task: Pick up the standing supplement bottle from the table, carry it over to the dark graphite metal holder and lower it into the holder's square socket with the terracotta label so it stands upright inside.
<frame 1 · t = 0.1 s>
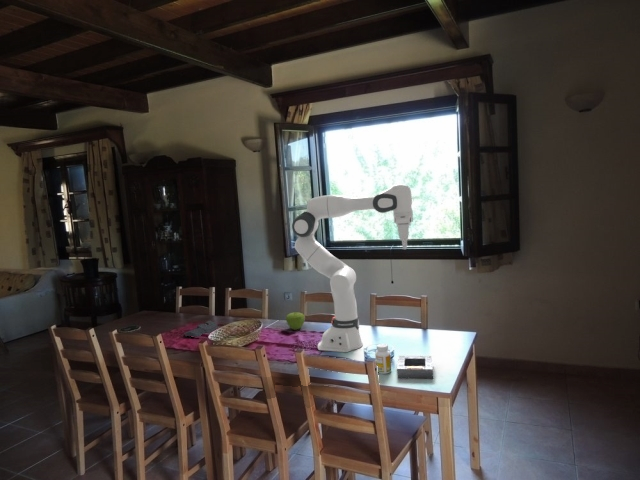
hand: (405, 247, 210), 48 cm above the table, tool pointing down, fingers open, 8 cm apart
supplement bottle: (383, 371, 187), on the table
dark slate chunk: (202, 333, 264), on the table
apple: (296, 329, 256), on the table
socket holder: (415, 371, 184), on the table
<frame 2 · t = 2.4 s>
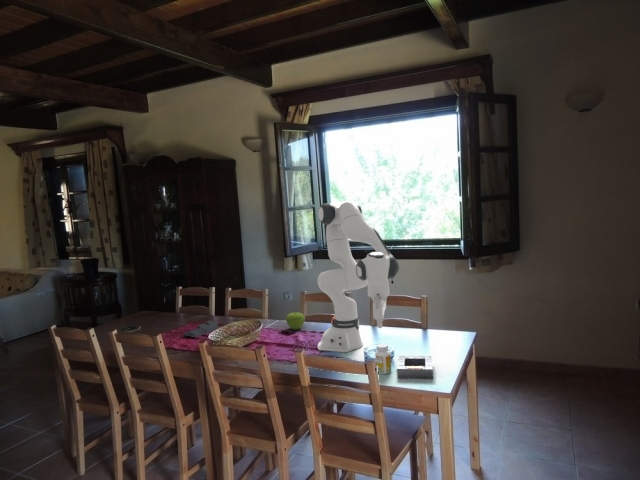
hand: (380, 324, 185), 20 cm above the table, tool pointing down, fingers open, 8 cm apart
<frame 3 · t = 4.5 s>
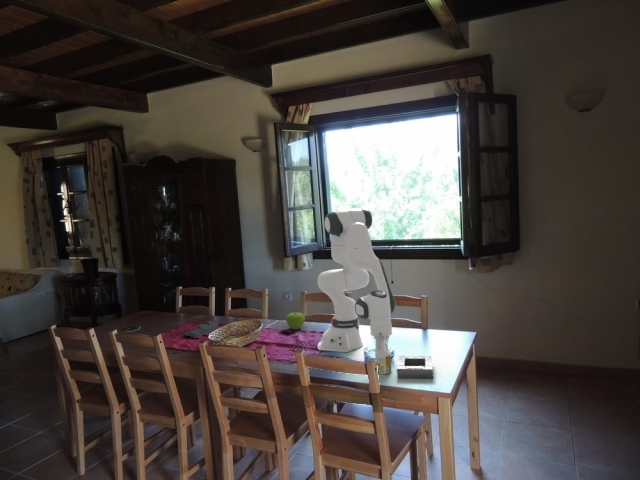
hand: (383, 361, 186), 4 cm above the table, tool pointing down, fingers closed on supplement bottle, 6 cm apart
supplement bottle: (383, 371, 187), on the table, touching gripper
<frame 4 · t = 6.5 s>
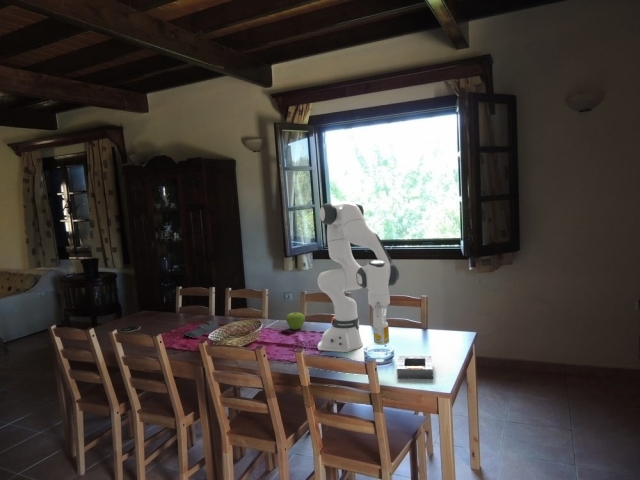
hand: (380, 331, 185), 17 cm above the table, tool pointing down, fingers closed on supplement bottle, 6 cm apart
supplement bottle: (381, 342, 186), point 12 cm above the table, touching gripper
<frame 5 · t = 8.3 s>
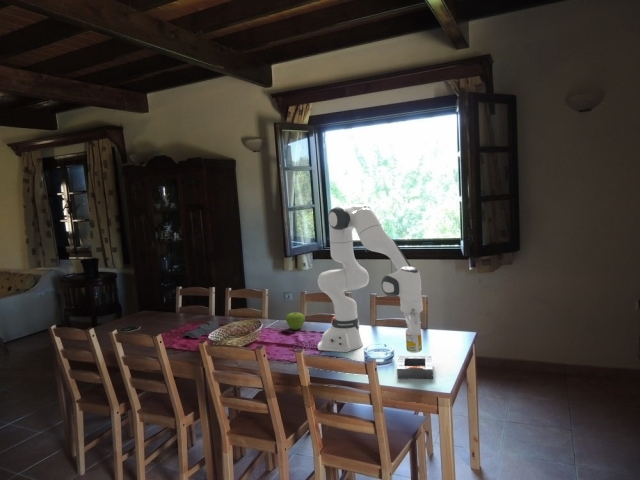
hand: (413, 339, 182), 14 cm above the table, tool pointing down, fingers closed on supplement bottle, 6 cm apart
supplement bottle: (414, 350, 183), point 9 cm above the table, touching gripper
when the fingers open (7 cm above the table, at t = 10.5 s): supplement bottle stays where it is, resting on socket holder.
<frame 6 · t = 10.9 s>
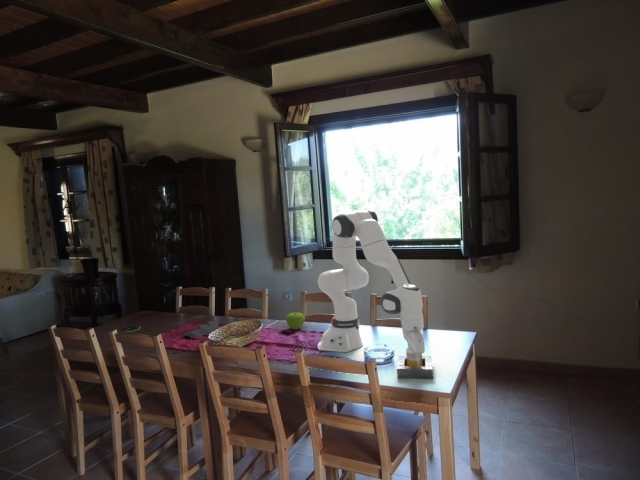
hand: (414, 356, 183), 7 cm above the table, tool pointing down, fingers open, 8 cm apart
supplement bottle: (414, 369, 184), point 1 cm above the table, touching socket holder
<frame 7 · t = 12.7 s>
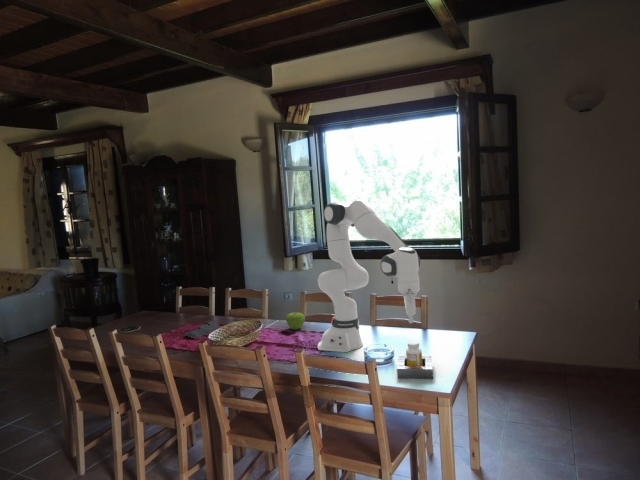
hand: (410, 319, 185), 21 cm above the table, tool pointing down, fingers open, 8 cm apart
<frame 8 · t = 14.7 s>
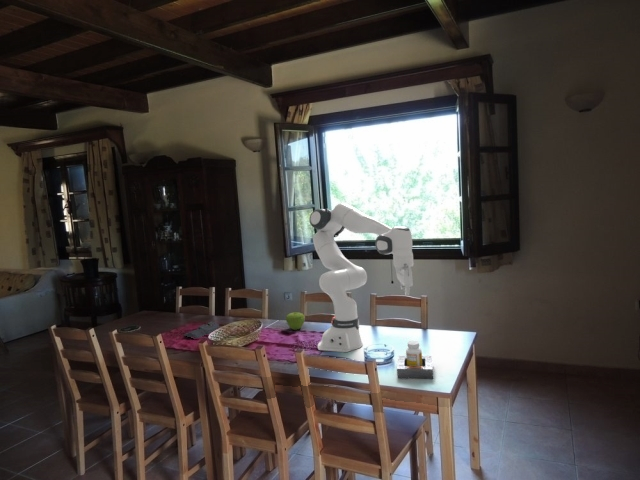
hand: (405, 292, 200), 29 cm above the table, tool pointing down, fingers open, 8 cm apart
at the end: supplement bottle 0.3 cm off-centre on the socket holder, point 0.8 cm above the socket holder's base; supplement bottle tilted 0°; the gripper is holding nothing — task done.
